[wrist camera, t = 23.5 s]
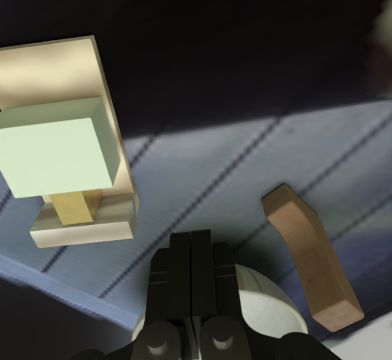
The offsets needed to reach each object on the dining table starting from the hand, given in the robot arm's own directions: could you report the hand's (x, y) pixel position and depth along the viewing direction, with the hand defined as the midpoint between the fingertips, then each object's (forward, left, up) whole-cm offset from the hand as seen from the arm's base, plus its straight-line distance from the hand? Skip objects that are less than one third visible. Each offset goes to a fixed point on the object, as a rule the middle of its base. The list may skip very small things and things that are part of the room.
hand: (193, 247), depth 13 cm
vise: (+10, -17, -32) cm, 38 cm away
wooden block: (+26, +12, -32) cm, 43 cm away
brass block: (+16, -17, -30) cm, 38 cm away
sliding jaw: (+9, -17, -30) cm, 36 cm away
